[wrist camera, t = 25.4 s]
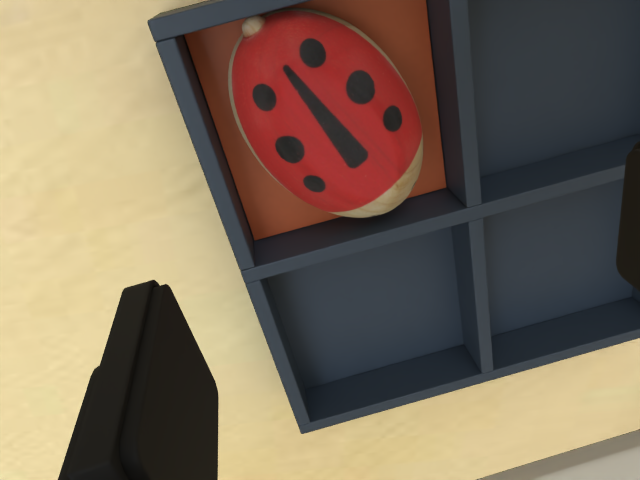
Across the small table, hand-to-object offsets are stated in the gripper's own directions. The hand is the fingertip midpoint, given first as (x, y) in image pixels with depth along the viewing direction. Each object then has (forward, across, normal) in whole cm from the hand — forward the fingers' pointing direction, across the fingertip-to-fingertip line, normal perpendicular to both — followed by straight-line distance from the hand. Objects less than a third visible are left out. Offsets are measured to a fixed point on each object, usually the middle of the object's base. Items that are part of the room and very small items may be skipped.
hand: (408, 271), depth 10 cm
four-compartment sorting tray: (+13, -6, +6) cm, 16 cm away
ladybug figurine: (+13, -1, 0) cm, 13 cm away
